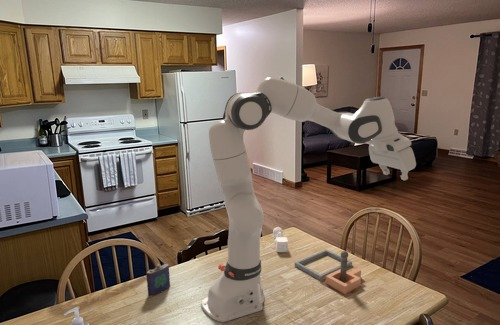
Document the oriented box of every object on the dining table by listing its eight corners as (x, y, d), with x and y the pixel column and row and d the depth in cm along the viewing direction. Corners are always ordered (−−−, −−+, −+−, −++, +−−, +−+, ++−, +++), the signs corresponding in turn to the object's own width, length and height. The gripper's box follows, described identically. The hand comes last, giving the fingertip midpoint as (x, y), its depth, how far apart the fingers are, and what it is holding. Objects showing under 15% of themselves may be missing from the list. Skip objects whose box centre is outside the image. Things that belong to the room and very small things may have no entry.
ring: (344, 294, 130) (345, 286, 129) (325, 283, 137) (325, 275, 136) (368, 281, 138) (369, 273, 137) (349, 271, 145) (349, 264, 144)
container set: (288, 252, 164) (288, 241, 163) (276, 253, 164) (276, 241, 163) (282, 234, 183) (282, 224, 182) (272, 234, 183) (272, 224, 182)
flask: (167, 284, 139) (166, 258, 137) (172, 287, 137) (170, 260, 135) (146, 294, 132) (144, 267, 130) (151, 297, 130) (148, 270, 128)
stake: (345, 300, 128) (347, 262, 125) (319, 285, 137) (320, 249, 134) (366, 288, 135) (368, 252, 132) (340, 275, 144) (342, 241, 141)
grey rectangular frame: (320, 283, 139) (320, 276, 138) (294, 268, 150) (294, 262, 149) (351, 267, 150) (352, 261, 149) (325, 255, 161) (325, 249, 160)
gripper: (361, 141, 136) (370, 174, 139) (398, 148, 117) (408, 186, 120) (375, 135, 137) (384, 168, 141) (414, 140, 118) (423, 178, 122)
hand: (395, 176), depth 130 cm, fingers open, 8 cm apart
